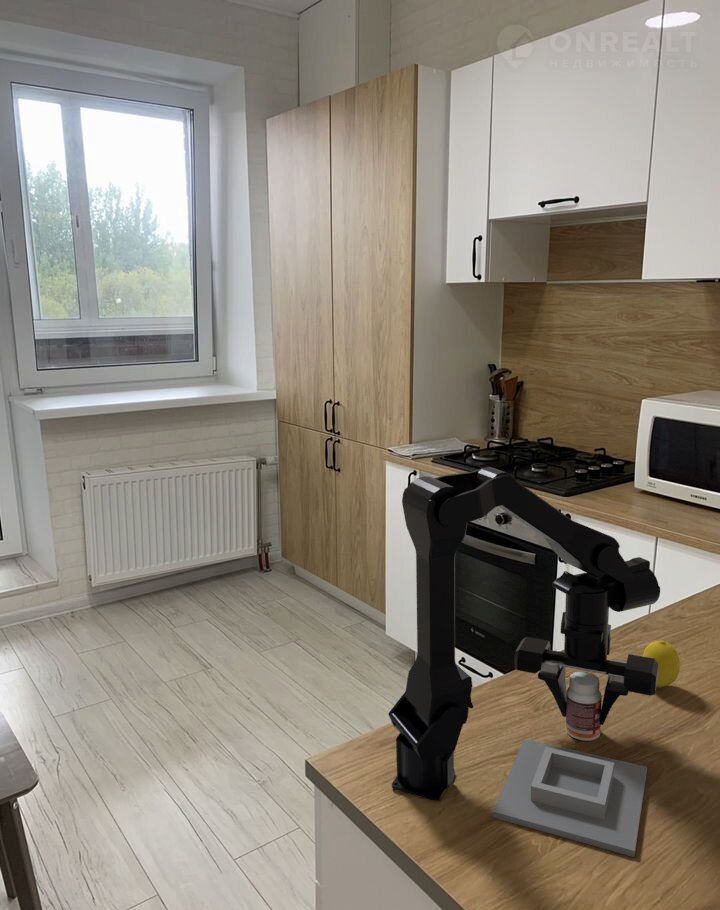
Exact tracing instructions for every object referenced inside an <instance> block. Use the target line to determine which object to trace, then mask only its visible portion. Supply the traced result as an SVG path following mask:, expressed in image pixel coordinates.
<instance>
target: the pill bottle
mask: <svg viewBox="0 0 720 910" xmlns="http://www.w3.org/2000/svg"><path fill="white" fill-rule="evenodd" d="M568 684H569V686H568V687H567V688H566V717H565V731H566V733H567V735H569V736H570V737H571V738H573V739H576V740H579V741H582V742H584V741H585V742H589V741H591V742H592V741H594V740H596V739H598V738H600V736H601V727H602V725H600V714H601V709H602V703H603V699H602V698H603V695H602V693H601V691H600V678H599V677H598V676H597V675H595V674H593V673H591V672H589V671H575V672H572V673H571V674H570V675H569V683H568Z"/></svg>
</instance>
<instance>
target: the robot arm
mask: <svg viewBox="0 0 720 910" xmlns="http://www.w3.org/2000/svg"><path fill="white" fill-rule="evenodd" d="M401 498H402V499H401V504H402V509H403V514H404V515H403V516H404V520H405V526H406V529H407V531H408V534H409V536H410V539H411V541H412V544H413V546H414V549H415V558H416V559H415V565H416V567H415V569H416V570H415V572H416V573H415V574H416V576H415V577H416V578H415V579H416V582H415V583H416V642H417V643H416V645H417V646H416V647H417V655H416V659H415V660H414V663H413V664H412V666H411V667H410V669H409V671H408V673H407V680H406V687H405V692H404V693H403V694H402V695H401V697H400V698H399V699H398V700H397V701H396V703H395V704H394V705H393V707H392V708H391V709H390V710H389V712H388V717H389V719H390V721H391V724H392V726H393V727H394V728H395V729H396V730H397V731H398V732H399V734H397V737H395V745H396V746H395V751H396V752H395V755H396V777H395V778H394V780H393V781H392V782H391V788H392V789H393V790H395V791H398V792H402V793H406V794H410V795H413V796H417V797H420V798H424V799H427V800H431V801H433V802H439V801H440V800H441V798H442V797H443V795H444V794H445V791H446V790H448V789H449V787H450V785H451V784H452V782H453V780H454V778H455V758H454V757H455V751H456V749H457V748H456V747H457V744H458V741H459V739H460V735H461V732H462V729H463V725H465V724H466V723H467V720H468V718H469V714H470V713H469V711H470V709H474V705H473V702H472V697H471V696H472V688H473V679H472V677H471V675H469V674H468V672H466V671H465V670H463V669H462V668H461V667H460V666H459V665H457V663H456V555H457V551H458V549H459V547H460V546H461V544H462V543H463V540H464V538H465V537H466V534H467V528H468V523H470V522H474V521H476V520H479V519H482V518H484V517H485V516H487V514H488V513H490V512H491V511H492V510H494V509H496V507H497V508H499V509H501V510H502V511H504V512H505V513H507V514H509V515H511V517H513V518H514V519H516V520H517V521H519V522H520V523H522V524H524V525H525V526H526V527H528V528H529V529H531V530H532V531H534V532H535V533H537V534H538V535H540V536H542V537H543V539H545V541H546V542H547V543H548V546H550V549H551V550H552V551H553V552H554V553H555V554H556V555H557V556H558V557H559V558H560V559H561V560H562V561H563V562H564V563H565V564H568V565H570V566H572V567H574V568H575V569H578V570H581V571H582V572H581V573H577V574H573V573H571V572H569V571H567V570H564V571H563V573H562V574H561V575H560V576H559V577H557V578H556V579H554V581H553V582H552V583H551V585H552V588H554V589H556V590H558V591H560V592H561V593H563V594H565V609H564V610H565V611H563V612H562V616H561V623H560V634H561V635H564V639H563V640H564V643H563V644H564V647H563V649H564V651H558V650H553V649H551V643H550V640H547V639H542V638H536V637H529V636H525V637H524V638H522V640H521V641H520V643H519V645H518V646H517V648H516V650H515V652H514V657H513V658H514V660H513V661H514V664H513V665H514V666H513V667H514V668H513V669H515V670H516V671H519V672H525V673H529V674H530V673H531V674H537V679H539V680H540V681H544V683H545V684H546V686H547V687H548V689H549V691H550V692H551V694H552V696H553V698H554V701H555V702H556V704H557V707H558V709H559V711H560V714H561V715H562V717H563V718H566V693H567V683H566V671H567V670H566V668H569V669H574V670H579V671H583V672H589V673H591V672H592V673H595V674H601V675H605V676H606V675H607V680H606V684H605V688H604V693H603V697H602V698H603V699H602V702H601V714H600V725H601V726H603V725H604V724H605V722H606V719H607V718H608V715H609V713H610V710H611V709H612V707H613V705H614V704H615V703H616V701H617V700H618V698H619V697H620V696H622V697H626V696H628V695H629V693H634V694H640V695H645V696H654V695H656V691H657V679H658V667H659V665H658V663H657V661H656V660H655V659H654V658H648V657H643V655H642V656H640V655H637V654H636V655H634V654H630V653H628V656H627V659H626V660H619V659H613V660H609V659H608V656H610V653H611V639H612V637H611V628H612V624H609V615H610V609H611V610H612V611H614V612H616V613H620V612H626V611H629V610H634V609H639V608H643V607H646V606H650V605H654V604H655V603H657V602H658V600H659V598H660V595H661V587H660V584H659V581H658V578H657V576H656V575H655V573H654V572H653V571H652V569H651V568H650V567H651V561H650V560H648V559H646V558H643V557H640V556H638V557H634V558H633V557H632V558H631V559H629V560H625V558H623V556H622V555H621V553H620V547H621V545H620V544H619V541H618V540H617V539H616V538H614V537H613V536H611V535H609V534H606V533H605V532H601V531H599V530H597V529H594V528H591V527H589V526H587V525H584V524H581V523H579V522H577V521H575V520H573V519H571V518H570V517H568V516H567V515H566V514H564V513H563V512H561V511H560V510H558V509H557V508H556V507H554V506H553V505H551V504H550V503H549V502H547V501H546V500H545V499H543V498H542V497H540V496H538V495H537V494H536V493H534V492H533V491H531V490H530V489H529V488H528V487H526V486H524V485H523V484H522V483H520V481H517V479H516V478H515V477H514V476H513V475H512V474H511V473H509V472H506V471H503V470H500V469H498V468H495V467H493V466H486V467H482V468H479V469H475V470H473V471H468V472H467V471H466V472H458V473H451V474H445V475H441V476H437V477H435V478H434V477H432V476H426V475H425V476H424V475H423V476H420V477H417V478H415V479H414V480H413V481H411V482H410V483H409V485H408V486H407V487H405V488H404V491H403V492H402V497H401Z"/></svg>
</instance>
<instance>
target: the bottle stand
mask: <svg viewBox="0 0 720 910" xmlns="http://www.w3.org/2000/svg"><path fill="white" fill-rule="evenodd" d="M647 774H648V766H645V765H640V764H636V763H631V762H627V761H623V760H618V759H613V758H610V757H605V756H600V755H596V754H592V753H589V752H583V751H579V750H574V749H570V748H566V747H563V746H558V745H553V744H550V743H549V744H548V743H544V742H540V741H536V740H530V739H529V738H523V740H522V743H521V745H520V748H519V750H518V752H517V753H516V756H515V759H514V762H513V763H512V765H511V768H510V771H509V773H508V775H507V777H506V780H505V782H504V784H503V787H502V789H501V791H500V794H499V796H498V798H497V800H496V803H495V805H494V807H493V810H492V818H495V819H497V820H502V821H505V822H508V823H512V824H516V825H519V826H523V827H527V828H530V829H533V830H536V831H540V832H543V833H547V834H550V835H554V836H557V837H561V838H564V839H567V840H571V841H576V842H579V843H583V844H585V845H590V846H593V847H597V848H600V849H604V850H607V851H611V852H615V853H618V854H622V855H625V856H628V857H632V858H635V856H636V849H637V844H638V843H637V842H638V835H639V829H640V822H641V815H642V808H643V802H644V801H643V800H644V795H645V788H646V781H647Z"/></svg>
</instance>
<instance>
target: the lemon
mask: <svg viewBox="0 0 720 910" xmlns="http://www.w3.org/2000/svg"><path fill="white" fill-rule="evenodd" d="M642 657H648V658H654V659H655V660H656V661H657V663H658V665H659V667H658V679H657V686H656V688H659V689H661V688H663V687H667V686H670V685H672V684H673V683H674V682H676V680H677V678H678V676H679V675H680V670H681V662H680V656H679V653H678V651H677V650H676V648H675V647H674V646H673V644H670V643H669V642H667V641H665V640H664V639H660V640H656V641H652V642H651V643H649V644H647V646H646V647H645V648H644V651H643V653H642Z"/></svg>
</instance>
